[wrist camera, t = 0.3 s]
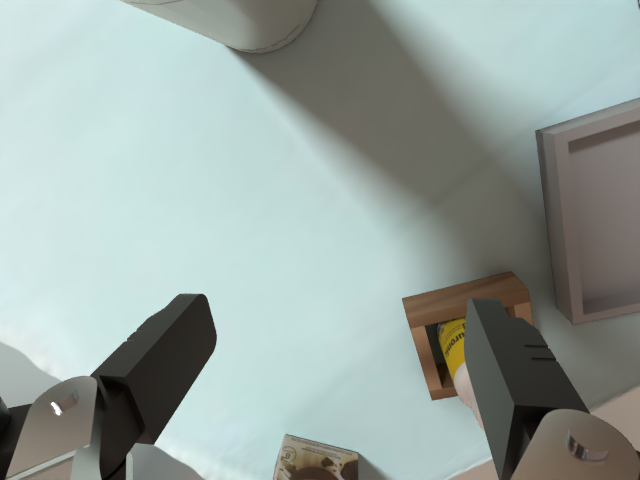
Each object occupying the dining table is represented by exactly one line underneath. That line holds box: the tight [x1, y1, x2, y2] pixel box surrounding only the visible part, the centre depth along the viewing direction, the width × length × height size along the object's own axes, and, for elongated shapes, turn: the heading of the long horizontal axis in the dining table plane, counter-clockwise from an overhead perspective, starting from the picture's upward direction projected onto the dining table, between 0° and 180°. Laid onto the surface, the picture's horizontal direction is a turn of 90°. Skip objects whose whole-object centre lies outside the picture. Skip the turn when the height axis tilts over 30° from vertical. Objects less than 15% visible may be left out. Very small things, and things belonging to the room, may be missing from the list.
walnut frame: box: [402, 272, 534, 400], centre depth 31 cm, size 10×10×3 cm
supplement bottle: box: [437, 317, 484, 430], centre depth 28 cm, size 5×5×10 cm
